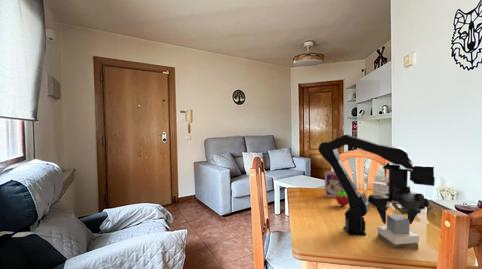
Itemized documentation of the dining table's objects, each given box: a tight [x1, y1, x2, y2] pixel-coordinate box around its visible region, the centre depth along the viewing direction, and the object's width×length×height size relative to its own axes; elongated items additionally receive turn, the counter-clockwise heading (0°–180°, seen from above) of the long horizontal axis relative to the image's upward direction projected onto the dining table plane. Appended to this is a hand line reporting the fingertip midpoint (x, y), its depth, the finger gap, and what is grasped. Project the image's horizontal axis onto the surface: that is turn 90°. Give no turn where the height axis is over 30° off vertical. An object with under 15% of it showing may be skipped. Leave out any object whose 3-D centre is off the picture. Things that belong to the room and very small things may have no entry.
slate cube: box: [386, 214, 411, 234], centre depth 85 cm, size 5×5×5 cm
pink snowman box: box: [324, 170, 346, 198], centre depth 140 cm, size 11×7×15 cm, turn 67°
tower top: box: [377, 225, 420, 244], centre depth 86 cm, size 9×9×2 cm
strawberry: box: [335, 188, 349, 207], centre depth 122 cm, size 6×7×10 cm
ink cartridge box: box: [372, 175, 393, 208], centre depth 124 cm, size 9×5×15 cm, turn 47°
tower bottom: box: [377, 232, 419, 250], centre depth 86 cm, size 9×9×2 cm
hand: (397, 223), depth 86 cm, fingers open, 9 cm apart
